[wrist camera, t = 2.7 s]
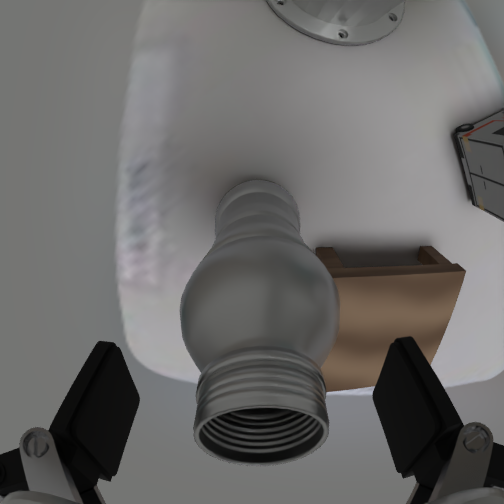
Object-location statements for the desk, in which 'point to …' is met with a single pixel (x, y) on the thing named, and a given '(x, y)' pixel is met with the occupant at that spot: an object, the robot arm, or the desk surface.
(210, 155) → the desk surface
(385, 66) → the desk surface
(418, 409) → the robot arm
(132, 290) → the desk surface
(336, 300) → the plastic bottle
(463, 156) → the toy vehicle
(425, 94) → the desk surface
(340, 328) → the walnut stand
